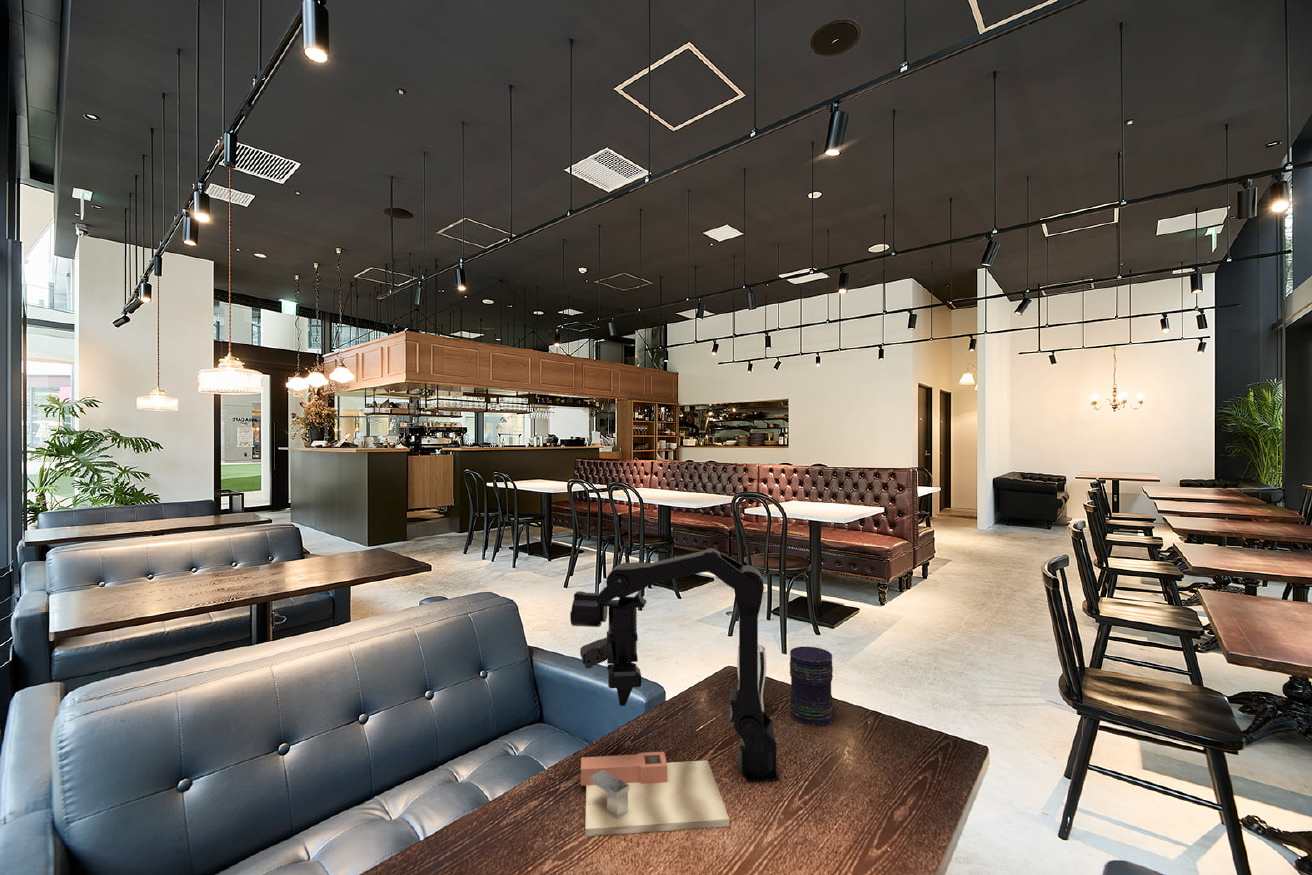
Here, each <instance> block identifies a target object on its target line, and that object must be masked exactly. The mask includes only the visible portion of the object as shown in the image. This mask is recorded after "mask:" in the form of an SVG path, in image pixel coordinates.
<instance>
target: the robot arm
mask: <svg viewBox="0 0 1312 875" xmlns="http://www.w3.org/2000/svg"><path fill="white" fill-rule="evenodd" d="M705 572H709V573H710V574H713V575H714V576H715V577H717V578H718V579H719V580H721V581H722V582H723V583H724V584H726V586H727V587H730V588H731V589H734V596H735V602H736V607H737V612H738V623H739V624H738V636H739V637H738V646H739V678H738V684H737V687H736V688H729V689H730V692H729V693H730V695H729V697H730V705H729V706H730V707H729V708H730V709H729V710H730V711H729V720H730V722H729V723H732V724H733V727H734V728H733V729H734V730H735V731H734V732H735V733H737V735H738V736H739V737H741V738H740V741H741V742H740V745H739V746H738V761H737V762H738V763H737V764H738V768H739V770H740V772H741V774H743V777H744V779H745V780H746V782H747V783H748V782H749V783H750V782H765V781H767V782H768V781H779V780H780V775H779V773H778V771H777V742H776V739H775V738H776V737H775V731H774V725H773V720H772V719H771V718H770V717H769V716H768V715H767V714H766V713H765V711H764V712H763V711H762V706H761V700H760V695H759V689H758V644H759V640H758V639H759V637H758V636H759V635H758V634H759V632H758V629H759V628H758V626H759V621H758V618H759V614H760V610H761V605H762V602H763V601H762V600H763V594H764V589H765V586H764V581H763V576H762V574H761V571H760V570H759V569H758V568H757V567H756V566H753V565H749V564H746V565H744V564H742V563H740V562H739V561H737V560H735V559H733V558H732V557H729V556H727V555H726V554H723V553H722V552H720V551H719V550H717V549H716V548H713V547H711V548H710V547H709V548H706V549H705V550H701V551H697V552H692V553H688V554H685V555H684V554H683V555H679V556H675V557H672V558H666V559H662V560H659V561H654V562H640V561H637V562H621V563H619V564H617V565H616V566H615V567H614V568H613V569H612V570H611V571H610V572H609V573H608V575H607V577H606V582H605V583H606V586H605V587H603V588H602V589H601V591H600V592H587V591H586V592H585V591H583V590H582V591H576V592H575V593H574V594H573V601H572V604H571V611H569V612H570V614H569V616H570V617H569V618H570V624H571V626H573V627H587V628H588V627H589V628H592V627H593V628H601V625H602V623H606V622H607V619H608V629H607V631H606V637H604V638H600V639H597V640H595V641H592V642H590V643H587V644H585V645H583V646H581V647H580V649H579V655H580V658H581V660H582V661H581V662H582V664H583V665H584V669H587V670H588V669H591V668H593V667H594V666H596V665H599V664H601V663H604V662H606V661H607V662H606V663H607V685H608V688H609V689H616V693H617V696H618V697H617V698H618V702H619V706H620V707H625V706H626V705H627V703H628V701H629V698H630V695H631V692H632V690H633V688H641V686H642V673H641V669H640V668H639V667H638V666H637V664H636V663H637V662H638V658H639V657H638V653H637V652H638V651H637V650H638V649H637V647H638V645H637V644H638V643H637V642H638V637H639V636H638V632H637V631H638V629H637V625H638V623H637V622H638V620H637V619H638V615H637V613H638V611H637V610H638V609H639V608H640V609H644V608H645V606H646V604H647V600H646V599H645V598H644V597H643V596H642V595H641V593H640V591H641V590H643V589H645V588H647V587H649V586H651V585H655V584H657V583H661V582H665V581H670V580H675V579H680V578H684V577H688V576H694V575H697V574H702V573H705ZM635 593H636V594H635ZM633 594H635V595H634V596H630V595H633ZM615 598H619V599H615Z"/></svg>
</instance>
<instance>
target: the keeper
mask: <svg viewBox="0 0 1312 875" xmlns="http://www.w3.org/2000/svg"><path fill="white" fill-rule="evenodd" d="M590 781H591V782H592V783H594V784H595V785H597V786H599V787H600V788H602V789H603V790H605V791H606V792H607V812H608V813H609V814H611V815H612V816H614V817H615V818H619V817H621V816H622V815H624V814H625V813H627V812H628V791H629V785H628V784H626V783H625V782H623V781H621V780H620V779H618V778H616V777H615V776H613V775H611V774H610V773H608V772H606V771H605V770H602V771H600V772H598V773H596V774H594V775H592V776H590Z"/></svg>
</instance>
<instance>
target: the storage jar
mask: <svg viewBox="0 0 1312 875" xmlns="http://www.w3.org/2000/svg"><path fill="white" fill-rule="evenodd" d="M789 656H790V658H789V660H790V661H789V676H790V680H791V681H790V683H791V684H790V690H789V691H790V692H789V708H790V712H789V716H790V715H791V717H792V718H791V717H790V718H791V719H792V720H793V719H794V720H795V721H796V722H795V721H794V720H793V721H794V722H795V723H797V724H799V723H800V724H799V725H801V724H804V725H803V726H805V725H807V726H806V727H809V726H813V727H812V728H823V727H822V726H824V727H826V726H825V725H827V724H829V725H831V724H832V723H831V722H833V716H832V715H833V710H834V704H833V695H832V681H833V671H834V670H833V668H834V666H833V654H832V653H831V651H828V650H827V649H823V648H821V647H815V646H796V647H793V648H792V649H790V652H789ZM830 723H831V724H830ZM827 726H828V725H827Z"/></svg>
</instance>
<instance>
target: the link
mask: <svg viewBox="0 0 1312 875" xmlns="http://www.w3.org/2000/svg"><path fill="white" fill-rule="evenodd" d="M650 756H655V757H657V764H648V762H649V757H650ZM580 758H581V759H580V760H581V761H580V786H582V787H583V786H585V787H586V785H595V784H594V783H592V782H591V781H590V776H592V775H594V774H596V773H598V772H600V771H602V770H605V771H606V772H608V773H610V774H611V775H613V776H615V777H616V778H618V779H620V780H621V781H623V782H625V783H635V782H640V784H645V783H662V782H667V763H668V762H667V760H666V758H667V757H666V754H665V751H653V752H652V751H651V752H650V751H649V752H638V754H622V755H618V754H617V755H606V756H605V755H604V756H586V757H582V756H581V757H580Z"/></svg>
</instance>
